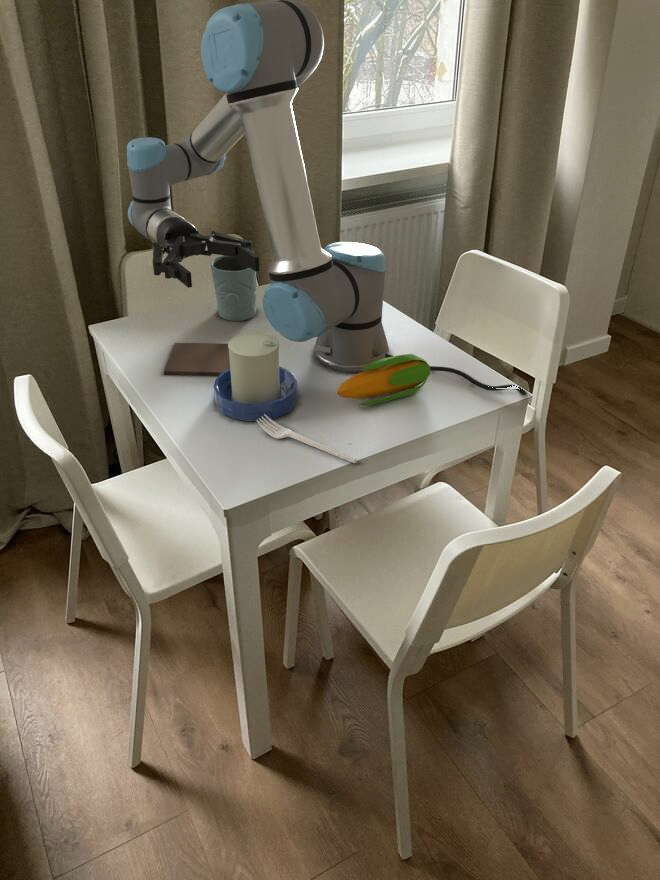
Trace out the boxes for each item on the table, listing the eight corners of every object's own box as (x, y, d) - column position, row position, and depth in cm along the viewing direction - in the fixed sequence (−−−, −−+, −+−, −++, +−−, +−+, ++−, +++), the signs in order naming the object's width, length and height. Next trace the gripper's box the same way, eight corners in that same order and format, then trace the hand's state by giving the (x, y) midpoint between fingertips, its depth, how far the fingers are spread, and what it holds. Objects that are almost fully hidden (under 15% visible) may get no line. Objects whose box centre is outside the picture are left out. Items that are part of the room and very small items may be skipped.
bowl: (298, 379, 146) (298, 363, 144) (294, 423, 134) (294, 406, 131) (221, 378, 146) (219, 362, 144) (209, 421, 134) (208, 404, 132)
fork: (350, 469, 123) (351, 460, 122) (255, 429, 132) (254, 421, 131) (361, 459, 125) (361, 450, 124) (266, 421, 134) (266, 412, 133)
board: (260, 347, 156) (260, 344, 156) (255, 376, 147) (255, 373, 146) (175, 345, 157) (174, 342, 156) (164, 374, 147) (163, 371, 146)
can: (279, 412, 136) (277, 354, 129) (228, 411, 136) (224, 353, 129) (282, 386, 143) (281, 329, 136) (234, 385, 143) (231, 328, 136)
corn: (441, 356, 138) (348, 382, 130) (439, 392, 142) (348, 419, 134) (418, 342, 144) (328, 365, 136) (417, 377, 148) (328, 402, 140)
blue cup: (231, 326, 164) (228, 275, 157) (205, 311, 170) (201, 261, 163) (268, 313, 170) (266, 263, 163) (241, 299, 176) (238, 250, 169)
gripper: (230, 241, 156) (283, 277, 142) (116, 265, 144) (161, 307, 130) (228, 205, 151) (283, 238, 137) (110, 227, 140) (156, 266, 126)
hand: (224, 272), depth 134 cm, fingers open, 13 cm apart
